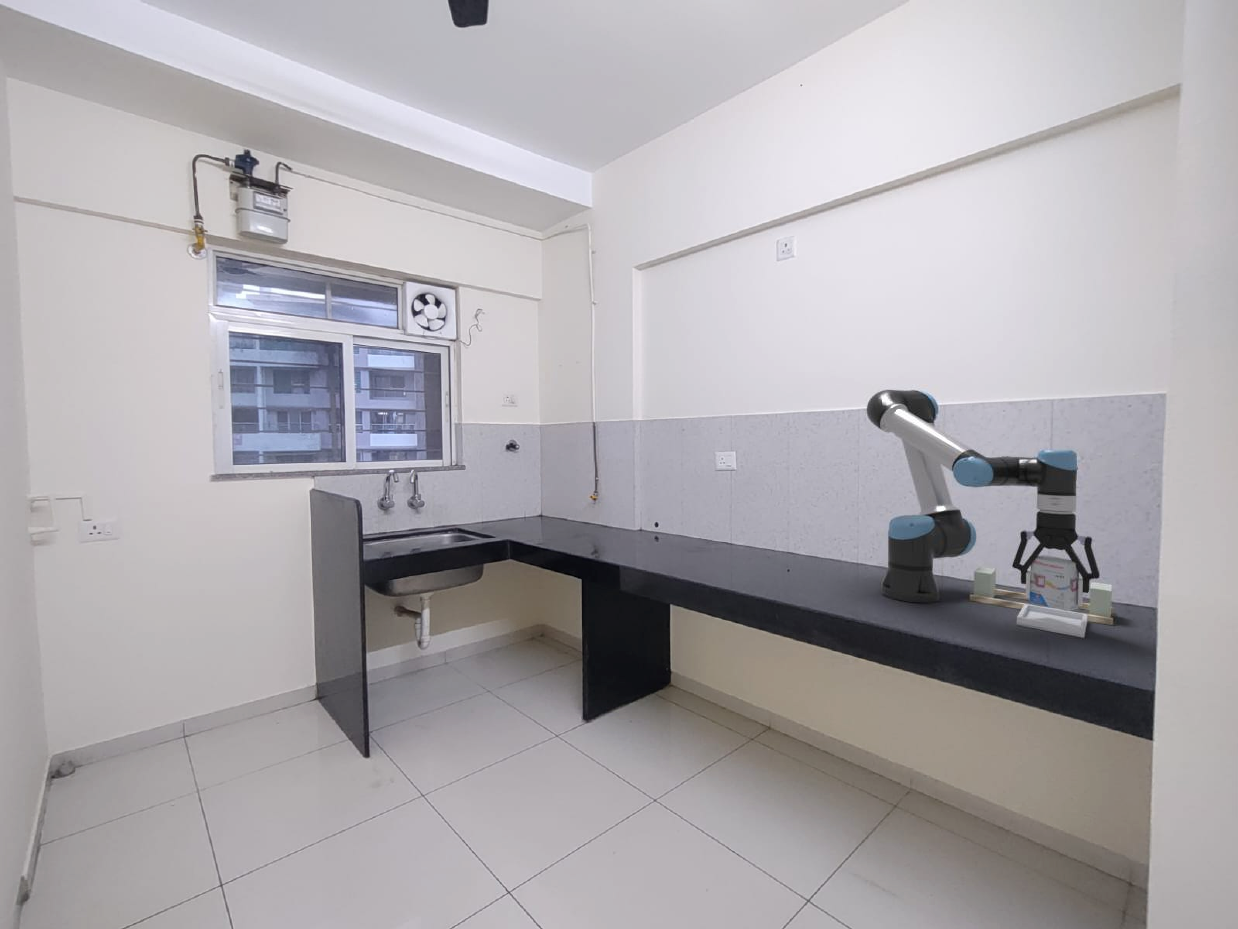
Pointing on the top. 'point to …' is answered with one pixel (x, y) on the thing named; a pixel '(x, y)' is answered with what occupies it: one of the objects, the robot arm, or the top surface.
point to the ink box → (1054, 582)
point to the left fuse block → (985, 582)
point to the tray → (1053, 620)
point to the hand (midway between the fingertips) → (1053, 601)
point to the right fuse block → (1100, 599)
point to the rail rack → (1023, 596)
